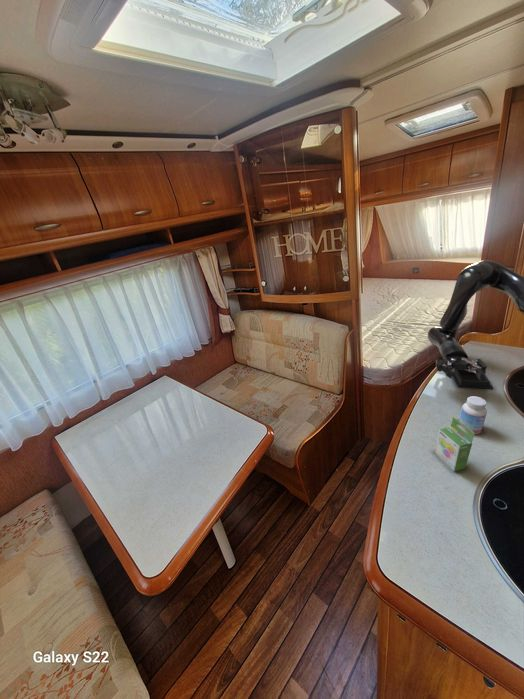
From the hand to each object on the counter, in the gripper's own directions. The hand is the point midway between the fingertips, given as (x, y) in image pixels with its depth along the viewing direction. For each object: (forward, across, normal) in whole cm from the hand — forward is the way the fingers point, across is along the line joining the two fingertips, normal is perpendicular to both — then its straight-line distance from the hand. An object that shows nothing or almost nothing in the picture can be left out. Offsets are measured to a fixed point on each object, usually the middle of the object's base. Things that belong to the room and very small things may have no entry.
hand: (466, 376), depth 91 cm
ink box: (+26, -9, +13) cm, 30 cm away
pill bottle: (+11, 0, +13) cm, 17 cm away
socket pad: (-17, +8, +13) cm, 23 cm away
